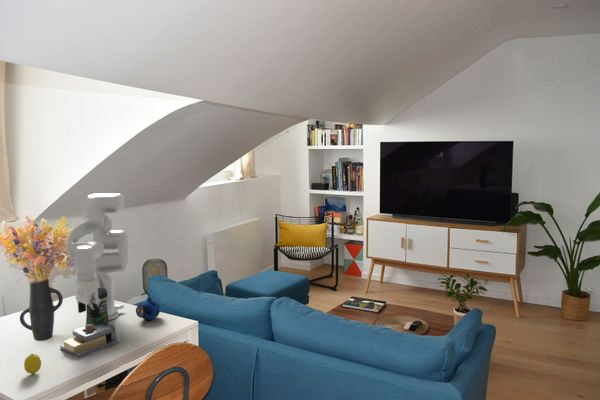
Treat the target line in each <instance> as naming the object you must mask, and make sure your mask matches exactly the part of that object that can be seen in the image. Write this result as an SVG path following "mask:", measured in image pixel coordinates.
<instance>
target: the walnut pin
mask: <svg viewBox="0 0 600 400" xmlns="http://www.w3.org/2000/svg"><path fill="white" fill-rule="evenodd" d="M84 327H85V333H89V332H92V331H93V325H92V324H88V325H86V324H85V325H84Z"/></svg>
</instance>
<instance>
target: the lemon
mask: <svg viewBox="0 0 600 400" xmlns="http://www.w3.org/2000/svg"><path fill="white" fill-rule="evenodd" d="M23 367H24V370H25V372H27V373H28V374H31V375H35V374H36V373H38V372H39V371H40V369H41V367H42V360H41V358H40V356H39V355H37V354H36V353H35V354H34V353H31V354H29V355H28V356H26V358H25V359H24V364H23Z"/></svg>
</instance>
